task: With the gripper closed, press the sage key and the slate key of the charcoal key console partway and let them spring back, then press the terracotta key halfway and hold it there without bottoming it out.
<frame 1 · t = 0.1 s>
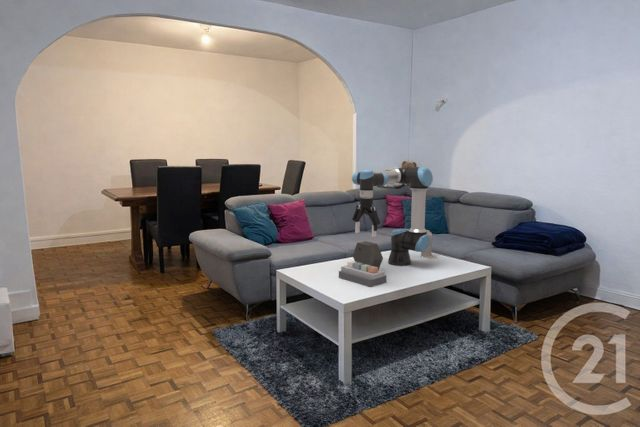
hand: (365, 234, 258), 28 cm above the table, fingers open, 13 cm apart
key terracotta: (373, 269, 258), point 8 cm above the table, slide at 0.0 cm
key ivory: (352, 264, 270), point 8 cm above the table, slide at 0.0 cm
key sage: (365, 267, 262), point 8 cm above the table, slide at 0.0 cm
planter: (367, 270, 286), on the table
key slate: (358, 266, 266), point 8 cm above the table, slide at 0.0 cm
console: (362, 279, 265), on the table
candle: (430, 257, 321), on the table
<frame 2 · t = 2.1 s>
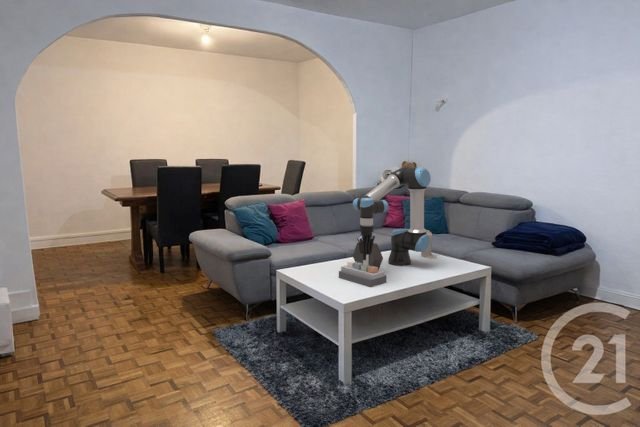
hand: (365, 265, 261), 9 cm above the table, fingers closed
key sage: (365, 268, 262), point 8 cm above the table, slide at 0.2 cm, touching gripper
everything else where it was.
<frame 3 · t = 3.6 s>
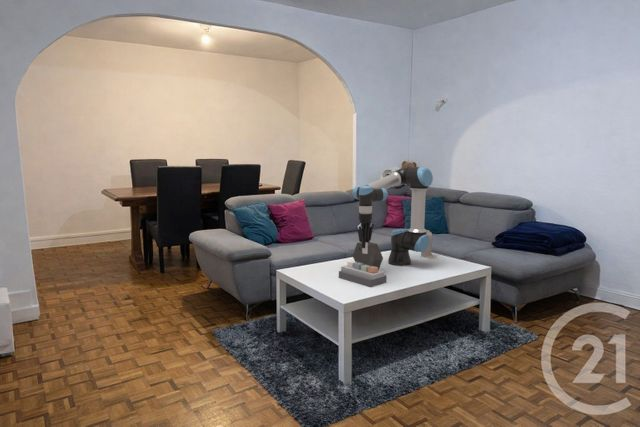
hand: (364, 253, 261), 16 cm above the table, fingers closed
key sage: (365, 268, 262), point 8 cm above the table, slide at 0.3 cm
everything else where it was.
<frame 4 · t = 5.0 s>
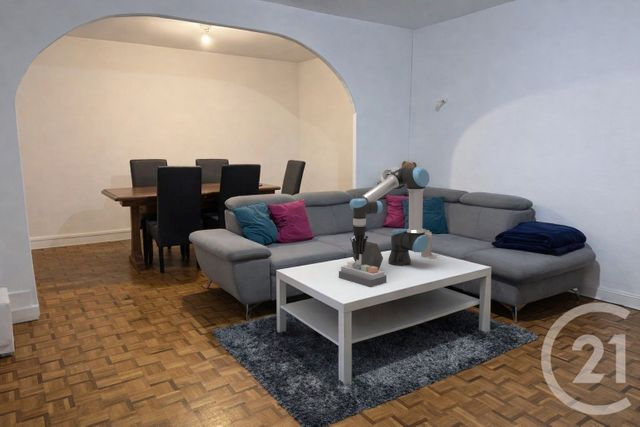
hand: (358, 264, 266), 9 cm above the table, fingers closed
key slate: (358, 267, 266), point 7 cm above the table, slide at 1.0 cm, touching gripper
everything else where it was.
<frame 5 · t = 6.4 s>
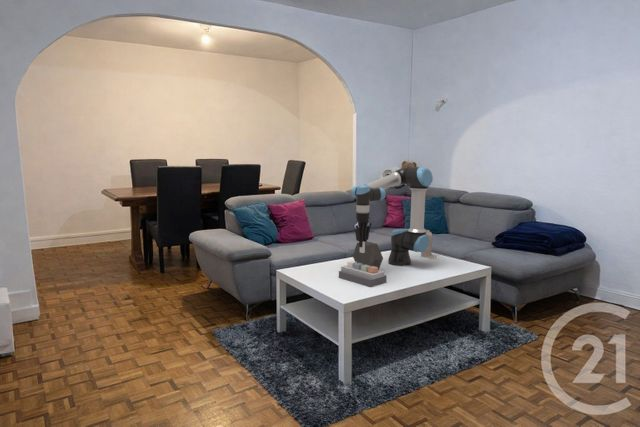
hand: (362, 252, 263), 17 cm above the table, fingers closed
key slate: (358, 266, 266), point 8 cm above the table, slide at 0.2 cm
everything else where it was.
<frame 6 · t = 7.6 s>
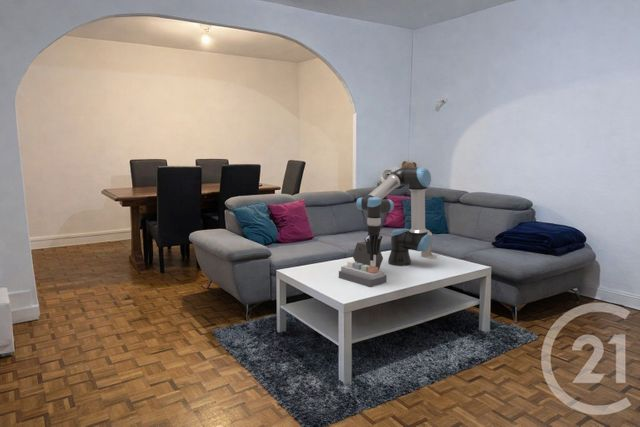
hand: (373, 265, 257), 10 cm above the table, fingers closed
nothing on the table moved.
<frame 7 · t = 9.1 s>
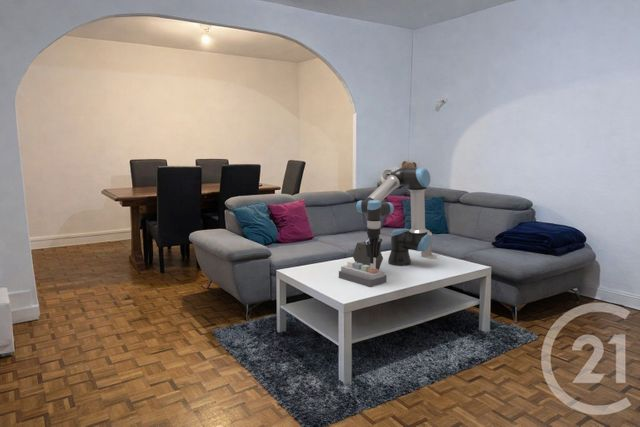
hand: (372, 268, 257), 9 cm above the table, fingers closed
key terracotta: (373, 271, 258), point 7 cm above the table, slide at 1.0 cm, touching gripper
everything else where it was.
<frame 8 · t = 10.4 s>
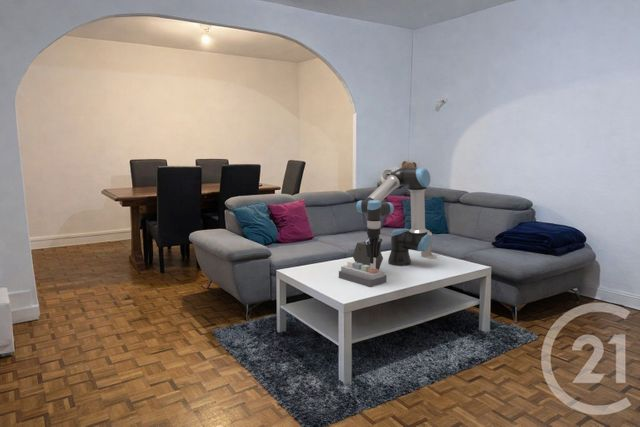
hand: (372, 268, 257), 9 cm above the table, fingers closed
nothing on the table moved.
at the end: key terracotta slide at 1.0 cm; key sage slide at 0.3 cm; key slate slide at 0.2 cm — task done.
